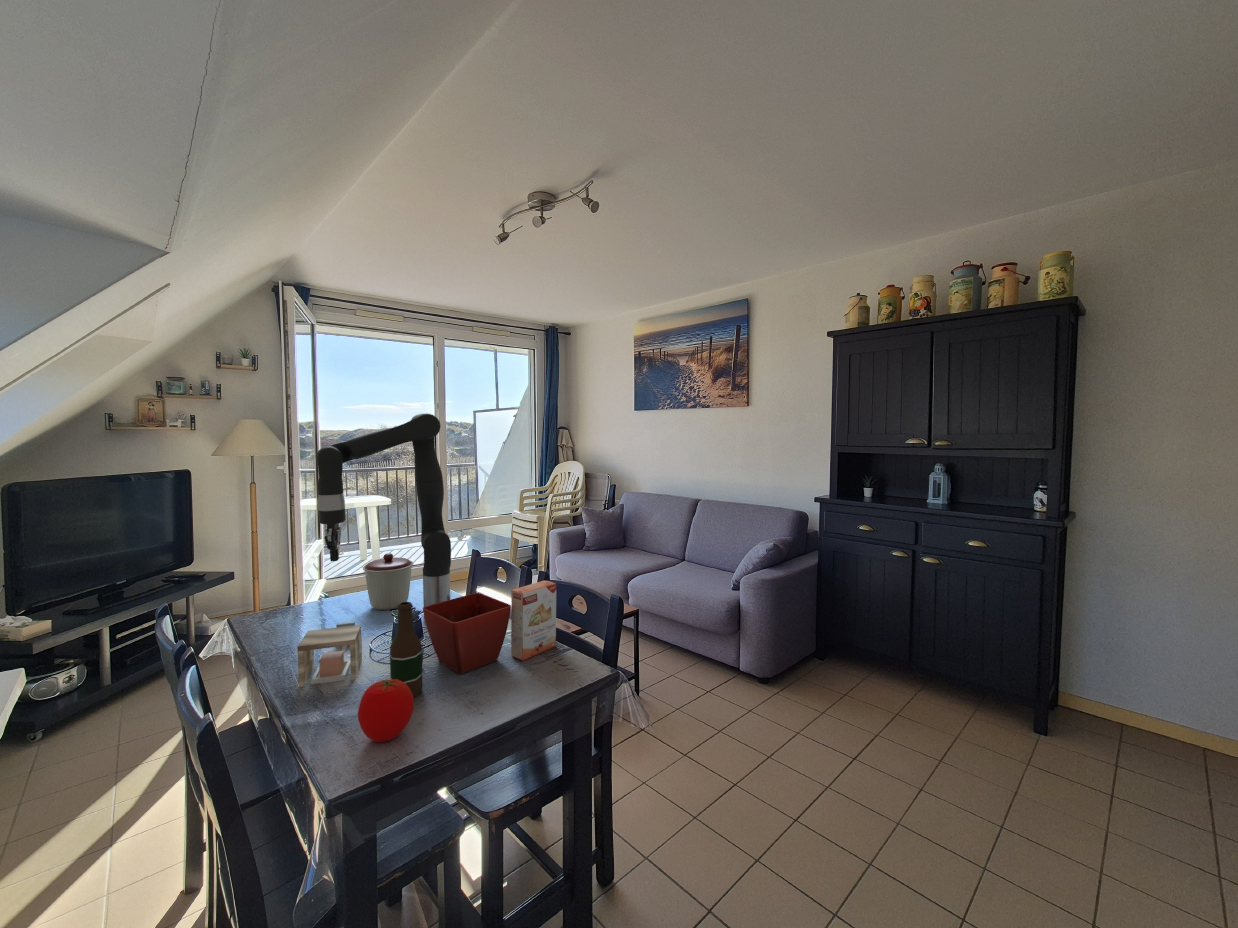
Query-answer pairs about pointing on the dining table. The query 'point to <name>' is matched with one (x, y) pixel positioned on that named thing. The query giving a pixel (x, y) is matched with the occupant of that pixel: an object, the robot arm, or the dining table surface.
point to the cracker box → (533, 619)
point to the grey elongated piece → (347, 664)
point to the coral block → (331, 664)
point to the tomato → (385, 709)
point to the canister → (388, 581)
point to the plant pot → (467, 630)
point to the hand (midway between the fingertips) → (334, 560)
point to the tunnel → (328, 640)
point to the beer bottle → (406, 651)
